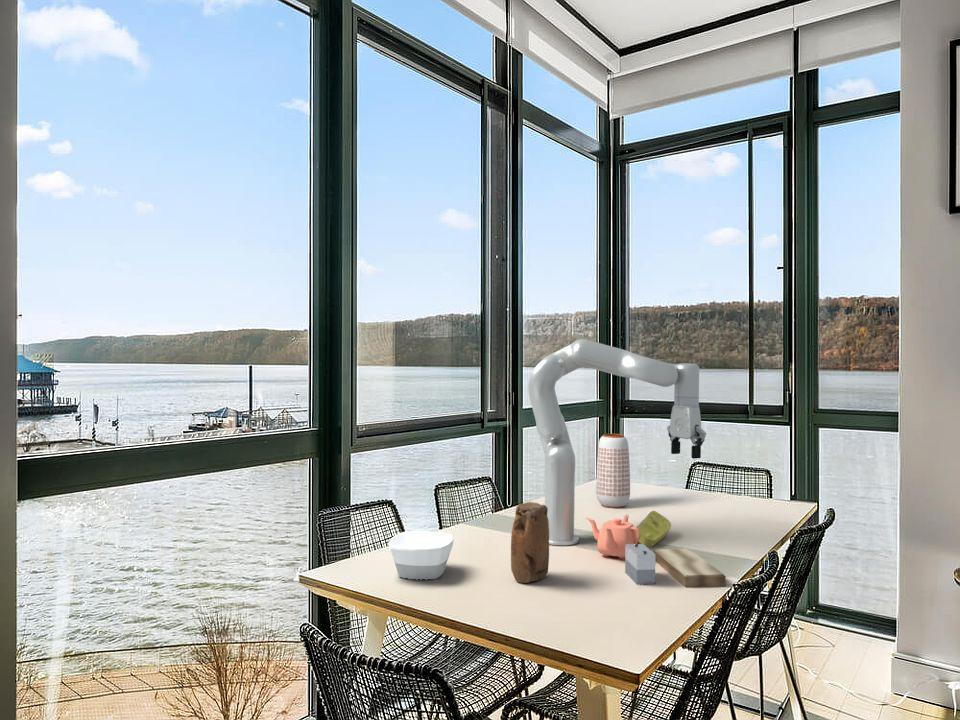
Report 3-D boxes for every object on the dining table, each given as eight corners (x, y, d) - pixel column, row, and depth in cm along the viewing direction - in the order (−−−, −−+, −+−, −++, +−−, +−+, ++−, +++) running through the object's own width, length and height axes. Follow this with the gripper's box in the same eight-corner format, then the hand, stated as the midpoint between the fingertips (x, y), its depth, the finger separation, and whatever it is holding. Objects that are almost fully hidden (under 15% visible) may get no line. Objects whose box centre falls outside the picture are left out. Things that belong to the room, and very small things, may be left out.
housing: (636, 584, 184) (637, 553, 184) (625, 572, 194) (625, 542, 194) (655, 584, 185) (655, 552, 184) (642, 572, 195) (642, 542, 194)
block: (528, 570, 195) (529, 499, 195) (551, 576, 190) (552, 503, 190) (506, 581, 186) (507, 506, 186) (530, 587, 182) (530, 510, 181)
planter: (593, 501, 284) (594, 432, 283) (626, 502, 283) (627, 433, 283) (598, 509, 270) (598, 436, 270) (632, 509, 270) (633, 437, 269)
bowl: (381, 582, 185) (381, 546, 185) (398, 562, 202) (398, 529, 202) (447, 585, 182) (447, 550, 182) (458, 565, 200) (458, 532, 200)
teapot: (606, 564, 201) (606, 526, 201) (585, 550, 215) (585, 515, 215) (651, 560, 206) (651, 523, 205) (627, 546, 219) (627, 512, 219)
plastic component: (653, 541, 217) (625, 523, 222) (643, 560, 220) (616, 542, 225) (675, 524, 233) (650, 507, 238) (666, 541, 236) (641, 525, 241)
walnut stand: (685, 587, 182) (685, 575, 182) (653, 559, 206) (653, 549, 206) (725, 585, 183) (725, 574, 183) (689, 558, 207) (689, 548, 207)
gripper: (659, 400, 228) (658, 452, 228) (695, 404, 212) (694, 460, 212) (678, 400, 231) (677, 451, 231) (714, 404, 215) (714, 459, 215)
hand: (685, 455), depth 222 cm, fingers open, 9 cm apart
